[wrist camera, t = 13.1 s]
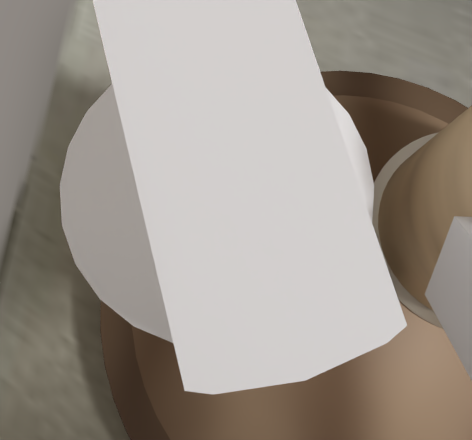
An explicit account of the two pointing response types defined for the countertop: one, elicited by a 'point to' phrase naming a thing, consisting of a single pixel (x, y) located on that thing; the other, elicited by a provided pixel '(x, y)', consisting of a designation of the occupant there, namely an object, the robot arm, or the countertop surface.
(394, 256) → the oak cylinder
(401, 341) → the board
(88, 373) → the countertop surface
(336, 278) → the cylinder with rectangular tab
